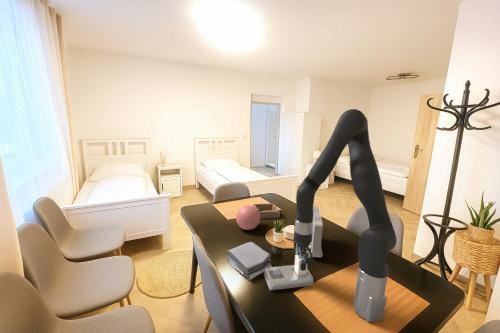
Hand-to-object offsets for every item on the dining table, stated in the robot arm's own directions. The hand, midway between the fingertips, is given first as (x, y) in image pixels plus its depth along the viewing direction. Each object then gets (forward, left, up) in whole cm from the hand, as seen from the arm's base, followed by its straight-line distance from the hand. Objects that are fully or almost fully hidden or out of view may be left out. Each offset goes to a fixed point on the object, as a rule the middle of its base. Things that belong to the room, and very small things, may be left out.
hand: (300, 266), depth 98 cm
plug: (0, 0, -5) cm, 5 cm away
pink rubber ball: (+52, +12, -7) cm, 54 cm away
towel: (+14, +20, -7) cm, 26 cm away
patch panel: (0, +5, -7) cm, 9 cm away
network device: (+23, -18, -7) cm, 31 cm away
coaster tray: (+72, -4, -7) cm, 73 cm away
